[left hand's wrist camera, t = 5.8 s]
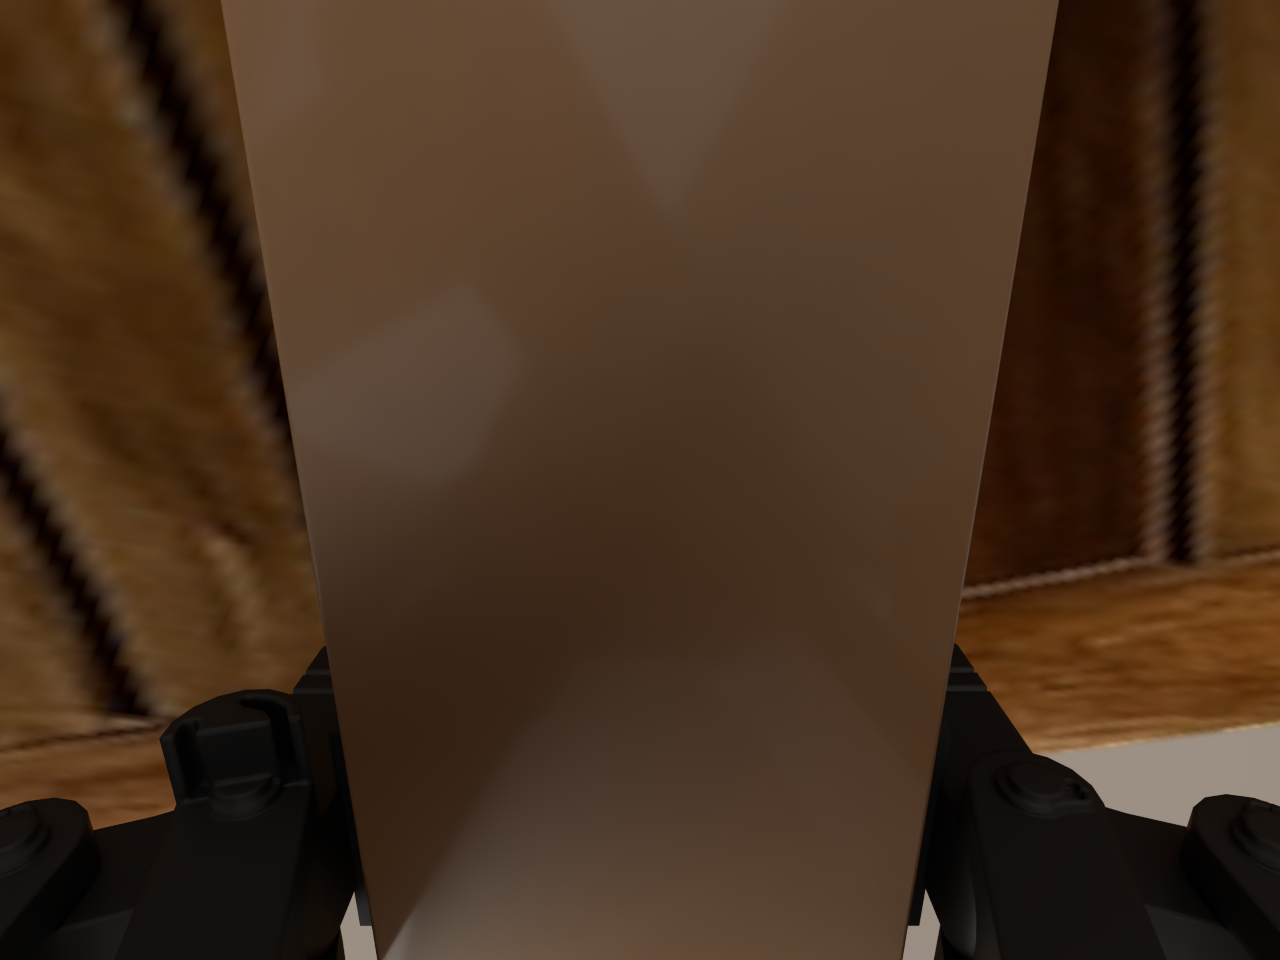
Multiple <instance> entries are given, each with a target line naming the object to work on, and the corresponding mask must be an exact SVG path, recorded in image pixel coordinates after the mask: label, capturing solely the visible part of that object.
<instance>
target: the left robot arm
mask: <svg viewBox="0 0 1280 960" xmlns="http://www.w3.org/2000/svg"><path fill="white" fill-rule="evenodd" d="M159 739H160V743H161V747H162V750H163V754H164V758H165V762H166V766H167V769H168V773H169V777H170V781H171V785H172V788H173V792H174V796H175V800H176V807H175V809H174V811H171V812H167V813H164V814H161V815H157V816H154V817H150V818H145V819H141V820H136V821H132V822H127V823H123V824H119V825H114V826H110V827H105V828H101V829H97V830H93V828H92V825H91V821H90V818H89V815H88V812H87V810H86V809H84V808H83V807H82V806H81V805H80V804H78V803H77V802H76V801H73V800H66V799H60V798H48V799H40V800H33V801H26V802H23V803H20V804H17V805H14V806H11V807H7V808H5V809H2V810H0V960H345V954H344V947H343V940H342V935H341V929H340V925H341V923H342V920H343V918H344V915H345V913H346V910H347V908H348V905H349V903H350V901H351V898H352V896H353V893H354V892H355V898H356V904H357V910H358V915H359V921H360V926H372V924H371V918H370V911H369V905H368V899H367V893H366V887H365V881H364V875H363V869H362V862H361V856H360V850H359V844H358V838H357V832H356V826H355V820H354V813H353V807H352V801H351V795H350V789H349V783H348V777H347V771H346V764H345V758H344V752H343V746H342V740H341V734H340V728H339V722H338V715H337V709H336V703H335V697H334V691H333V685H332V679H331V673H330V666H329V660H328V654H327V648H326V646H324V647H323V648H322V649H321V650H320V651H319V653H318V654H317V656H316V657H315V659H314V660H313V662H312V663H311V665H310V666H309V667H308V669H307V670H306V675H303V676H302V678H301V679H300V680H299V682H298V683H297V685H296V686H295V688H294V689H293V694H290V695H289V694H287V693H283V692H279V691H275V690H271V689H258V690H243V691H238V692H234V693H230V694H226V695H222V696H218V697H216V698H213V699H211V700H209V701H206V702H204V703H202V704H200V705H197V706H195V707H193V708H192V709H190V710H189V711H187V712H186V713H184V714H183V715H182V716H180V717H179V718H177V719H176V720H174V721H173V722H172V723H171V724H170V726H169V727H168V728H167V729H166V731H165V732H164V733H163V735H162V736H161V737H160V738H159ZM925 889H926V891H927V893H928V896H929V898H930V901H931V903H932V905H933V908H934V910H935V913H936V915H937V918H938V920H939V923H940V929H939V935H938V940H937V946H936V951H935V956H934V960H1280V806H1277V805H1275V804H1271V803H1268V802H1265V801H1262V800H1259V799H1256V798H1251V797H1243V796H1236V795H1229V794H1224V795H1218V796H1211V797H1205V798H1204V799H1203V800H1201V801H1200V802H1199V803H1198V804H1197V805H1195V806H1194V807H1193V810H1192V813H1191V816H1190V819H1189V822H1188V826H1187V827H1185V826H1180V825H1176V824H1172V823H1167V822H1163V821H1158V820H1153V819H1149V818H1145V817H1140V816H1136V815H1132V814H1127V813H1124V812H1120V811H1117V810H1113V809H1110V808H1107V807H1105V805H1104V803H1103V801H1102V800H1101V799H1100V797H1099V796H1098V794H1097V793H1096V791H1095V790H1094V788H1093V787H1092V785H1091V784H1089V783H1088V782H1087V781H1086V780H1084V779H1083V778H1082V777H1081V776H1079V775H1078V774H1077V773H1076V772H1074V771H1073V770H1072V769H1070V768H1068V767H1066V766H1064V765H1062V764H1060V763H1058V762H1056V761H1054V760H1052V759H1050V758H1048V757H1044V756H1041V755H1037V754H1033V753H1032V751H1031V750H1030V748H1029V747H1028V746H1027V744H1026V743H1025V741H1024V740H1023V738H1022V737H1021V736H1020V734H1019V733H1018V731H1017V730H1016V728H1015V727H1014V725H1013V724H1012V723H1011V721H1010V720H1009V718H1008V717H1007V715H1006V714H1005V713H1004V711H1003V710H1002V708H1001V707H1000V705H999V704H998V702H997V701H996V700H995V698H994V697H993V695H992V694H991V692H987V687H986V685H985V684H984V682H983V681H982V679H981V678H980V677H979V675H978V674H977V673H974V668H973V666H972V665H971V664H970V662H969V661H968V659H967V658H966V656H965V655H964V654H963V652H962V651H961V649H960V648H959V646H958V645H956V644H955V643H954V646H953V653H952V659H951V665H950V671H949V677H948V683H947V689H946V695H945V702H944V708H943V714H942V720H941V726H940V732H939V738H938V744H937V751H936V757H935V763H934V769H933V775H932V781H931V787H930V793H929V800H928V806H927V812H926V818H925V824H924V830H923V836H922V842H921V849H920V855H919V861H918V867H917V873H916V879H915V885H914V892H913V898H912V904H911V910H910V916H909V922H908V926H919V924H920V918H921V912H922V906H923V901H924V895H925Z"/></svg>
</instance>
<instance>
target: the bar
mask: <svg viewBox="0 0 1280 960" xmlns="http://www.w3.org/2000/svg"><path fill="white" fill-rule="evenodd" d="M1058 3H1059V0H221V5H222V11H223V17H224V23H225V29H226V35H227V42H228V48H229V54H230V60H231V66H232V72H233V78H234V84H235V91H236V97H237V103H238V109H239V115H240V121H241V127H242V133H243V140H244V146H245V152H246V158H247V164H248V170H249V176H250V182H251V189H252V195H253V201H254V207H255V213H256V219H257V225H258V231H259V238H260V244H261V250H262V256H263V262H264V268H265V274H266V280H267V287H268V293H269V299H270V305H271V311H272V317H273V323H274V329H275V336H276V342H277V348H278V354H279V360H280V366H281V372H282V378H283V385H284V391H285V397H286V403H287V409H288V415H289V421H290V428H291V434H292V440H293V446H294V452H295V458H296V464H297V470H298V477H299V483H300V489H301V495H302V501H303V507H304V513H305V519H306V526H307V532H308V538H309V544H310V550H311V556H312V562H313V568H314V575H315V581H316V587H317V593H318V599H319V605H320V611H321V617H322V624H323V630H324V636H325V642H326V648H327V654H328V660H329V666H330V673H331V679H332V685H333V691H334V697H335V703H336V709H337V715H338V722H339V728H340V734H341V740H342V746H343V752H344V758H345V764H346V771H347V777H348V783H349V789H350V795H351V801H352V807H353V813H354V820H355V826H356V832H357V838H358V844H359V850H360V856H361V862H362V869H363V875H364V881H365V887H366V893H367V899H368V905H369V911H370V918H371V924H372V930H373V936H374V942H375V948H376V954H377V960H902V959H903V953H904V947H905V941H906V934H907V928H908V922H909V916H910V910H911V904H912V898H913V892H914V885H915V879H916V873H917V867H918V861H919V855H920V849H921V842H922V836H923V830H924V824H925V818H926V812H927V806H928V800H929V793H930V787H931V781H932V775H933V769H934V763H935V757H936V751H937V744H938V738H939V732H940V726H941V720H942V714H943V708H944V702H945V695H946V689H947V683H948V677H949V671H950V665H951V659H952V653H953V646H954V640H955V634H956V628H957V622H958V616H959V610H960V604H961V597H962V591H963V585H964V579H965V573H966V567H967V561H968V554H969V548H970V542H971V536H972V530H973V524H974V518H975V512H976V505H977V499H978V493H979V487H980V481H981V475H982V469H983V463H984V456H985V450H986V444H987V438H988V432H989V426H990V420H991V414H992V407H993V401H994V395H995V389H996V383H997V377H998V371H999V365H1000V358H1001V352H1002V346H1003V340H1004V334H1005V328H1006V322H1007V315H1008V309H1009V303H1010V297H1011V291H1012V285H1013V279H1014V273H1015V266H1016V260H1017V254H1018V248H1019V242H1020V236H1021V230H1022V224H1023V217H1024V211H1025V205H1026V199H1027V193H1028V187H1029V181H1030V175H1031V168H1032V162H1033V156H1034V150H1035V144H1036V138H1037V132H1038V126H1039V119H1040V113H1041V107H1042V101H1043V95H1044V89H1045V83H1046V76H1047V70H1048V64H1049V58H1050V52H1051V46H1052V40H1053V34H1054V27H1055V21H1056V15H1057V9H1058Z"/></svg>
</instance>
